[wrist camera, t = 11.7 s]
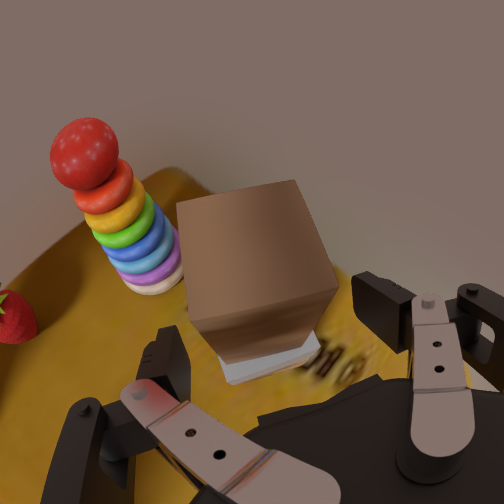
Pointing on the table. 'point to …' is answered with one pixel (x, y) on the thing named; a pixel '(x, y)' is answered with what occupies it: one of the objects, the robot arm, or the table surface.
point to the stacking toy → (117, 207)
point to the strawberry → (16, 318)
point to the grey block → (268, 362)
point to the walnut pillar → (253, 270)
